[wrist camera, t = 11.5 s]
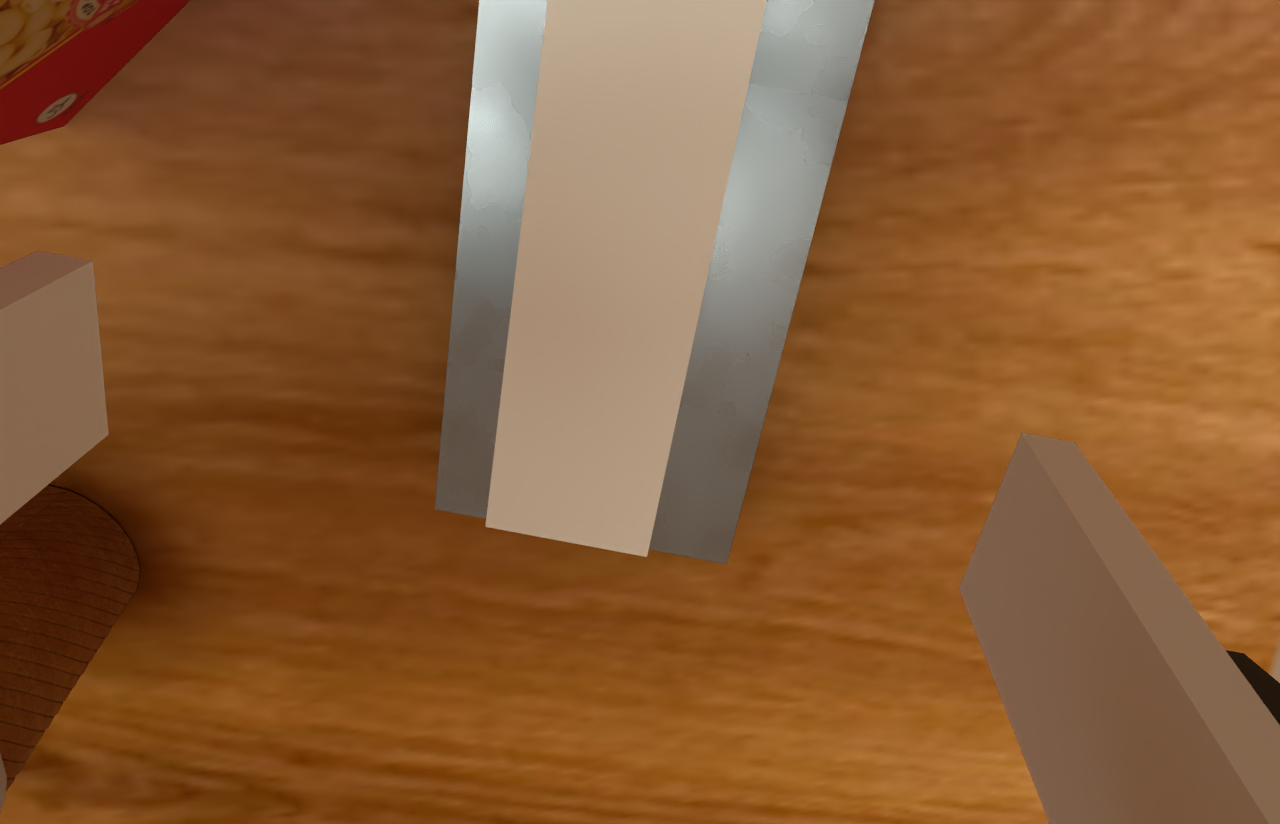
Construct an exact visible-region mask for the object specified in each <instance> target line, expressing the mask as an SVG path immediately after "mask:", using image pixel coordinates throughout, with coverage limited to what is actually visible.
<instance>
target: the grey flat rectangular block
mask: <svg viewBox="0 0 1280 824" xmlns="http://www.w3.org/2000/svg"><path fill="white" fill-rule="evenodd" d="M547 1H548V0H479V11H478V22H477V33H476V45H475V56H474V67H473V79H472V90H471V101H470V113H469V124H468V135H467V147H466V158H465V169H464V181H463V192H462V203H461V215H460V226H459V237H458V249H457V260H456V271H455V283H454V294H453V305H452V317H451V328H450V339H449V351H448V362H447V373H446V385H445V396H444V407H443V419H442V430H441V441H440V453H439V464H438V475H437V487H436V498H435V509H436V510H441V511H446V512H452V513H457V514H462V515H468V516H473V517H478V518H484V519H486V517H487V508H488V500H489V491H490V483H491V475H492V466H493V458H494V449H495V441H496V432H497V424H498V415H499V407H500V399H501V390H502V382H503V373H504V365H505V356H506V348H507V339H508V331H509V323H510V314H511V306H512V297H513V289H514V280H515V272H516V263H517V255H518V246H519V238H520V230H521V221H522V213H523V204H524V196H525V187H526V179H527V170H528V162H529V154H530V145H531V137H532V128H533V120H534V111H535V103H536V94H537V86H538V77H539V69H540V61H541V52H542V44H543V35H544V27H545V18H546V10H547ZM874 1H875V0H767V1H766V6H765V11H764V15H763V20H762V25H761V29H760V34H759V38H758V43H757V48H756V52H755V57H754V62H753V66H752V71H751V76H750V80H749V85H748V90H747V94H746V99H745V104H744V108H743V113H742V118H741V122H740V127H739V131H738V136H737V141H736V145H735V150H734V155H733V159H732V164H731V169H730V173H729V178H728V183H727V187H726V192H725V197H724V201H723V206H722V211H721V215H720V220H719V224H718V229H717V234H716V238H715V243H714V248H713V252H712V257H711V262H710V266H709V271H708V276H707V280H706V285H705V290H704V294H703V299H702V303H701V308H700V313H699V317H698V322H697V327H696V331H695V336H694V341H693V345H692V350H691V355H690V359H689V364H688V369H687V373H686V378H685V383H684V387H683V392H682V396H681V401H680V406H679V410H678V415H677V420H676V424H675V429H674V434H673V438H672V443H671V448H670V452H669V457H668V462H667V466H666V471H665V476H664V480H663V485H662V489H661V494H660V499H659V503H658V508H657V513H656V517H655V522H654V527H653V531H652V536H651V541H650V545H649V550H654V551H660V552H665V553H670V554H676V555H681V556H686V557H692V558H697V559H703V560H708V561H713V562H719V563H724V564H727V560H728V556H729V553H730V549H731V545H732V541H733V537H734V534H735V530H736V526H737V522H738V518H739V515H740V511H741V507H742V503H743V499H744V495H745V492H746V488H747V484H748V480H749V476H750V473H751V469H752V465H753V461H754V457H755V454H756V450H757V446H758V442H759V438H760V435H761V431H762V427H763V423H764V419H765V416H766V412H767V408H768V404H769V400H770V397H771V393H772V389H773V385H774V381H775V377H776V374H777V370H778V366H779V362H780V358H781V355H782V351H783V347H784V343H785V339H786V336H787V332H788V328H789V324H790V320H791V317H792V313H793V309H794V305H795V301H796V298H797V294H798V290H799V286H800V282H801V278H802V275H803V271H804V267H805V263H806V259H807V256H808V252H809V248H810V244H811V240H812V237H813V233H814V229H815V225H816V221H817V218H818V214H819V210H820V206H821V202H822V199H823V195H824V191H825V187H826V183H827V180H828V176H829V172H830V168H831V164H832V160H833V157H834V153H835V149H836V145H837V141H838V138H839V134H840V130H841V126H842V122H843V119H844V115H845V111H846V107H847V103H848V100H849V96H850V92H851V88H852V84H853V81H854V77H855V73H856V69H857V65H858V62H859V58H860V54H861V50H862V46H863V42H864V39H865V35H866V31H867V27H868V23H869V20H870V16H871V12H872V8H873V4H874Z"/></svg>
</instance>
